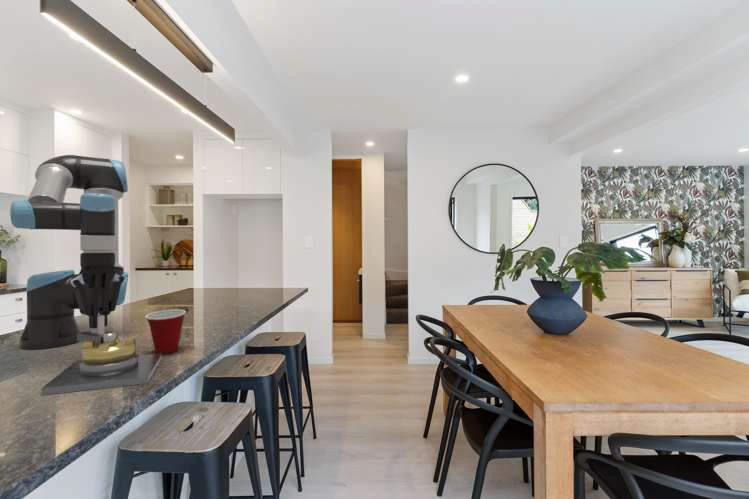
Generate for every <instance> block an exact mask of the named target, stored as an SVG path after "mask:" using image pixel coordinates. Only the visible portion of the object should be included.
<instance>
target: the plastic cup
mask: <svg viewBox="0 0 749 499" xmlns="http://www.w3.org/2000/svg"><path fill="white" fill-rule="evenodd" d="M186 314H187V311H186V310H184V309H176V308H175V309H164V310H163V309H162V310H157V311H154V312H151V313H148V314H146V315H145V316H144V317H145V319H146V320H147V322H148V325H149V327H150V328H149V329H150V333H151V338H152V343H153V348H154V351H155V354H160V353H162V355H168V354H173V353H176V352H177V351H178V349H179V345H180V344H179V342H180V340H181V334H182V329H183V328H182V327H183V322H184V317H185V315H186Z"/></svg>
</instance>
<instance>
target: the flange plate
mask: <svg viewBox="0 0 749 499" xmlns="http://www.w3.org/2000/svg"><path fill="white" fill-rule="evenodd" d="M162 359H163V354H162V353H160V354H156V353H152V354H151V353H150V354H141V355H140V354H139V353H137V352H136V355H135V356H134V357H132V358H130V359H127V360H123V361H119V362H114V363H108V364H85V363H83V362H82V359H80V360H76V361H74V362H73V363H72V364H70V365H69V366H68V367H67V368H65V369H64V370H63V371H61V372H60V373H59V374H58V375H56V376H55V377H53V379H51V380H50V381H49V382H47V383H46V384H45V385H43V387H41V388H40V390H41V392H40V395H41V396H46V395H55V394H64V393H74V392H83V391H90V390H92V391H93V390H100V389H107V388H108V389H110V388H117V387H118V388H119V387H128V386H129V387H130V386H136V385H137V386H138V385H145V384H149V382H150V381H149V380H151V379H152V377H153V375H154V374H155V371H156V370H157V368H158V367H159V364H160V363H161V361H162Z"/></svg>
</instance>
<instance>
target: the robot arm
mask: <svg viewBox="0 0 749 499" xmlns="http://www.w3.org/2000/svg"><path fill="white" fill-rule="evenodd" d="M34 174H35V175H34V179H35V183H34V185H33V187H32V190H31V192H30V193H29V195H28V198H27V199H22V200H13V201H12V202H11V204H10V209H9V210H10V211H9V215H10V223H11V225H12V226H13V227H14V228H15V229H21V230H23V229H25V230H31V231H32V230H56V231H57V230H58V231H59V230H61V231H62V230H67V231H69V230H70V231H80V233H79V235H80V236H79V238H80V239H79V240H80V245H79V246H80V251H83V252H81V253H80V254H79V259H80V261H79V264H80V271H79V273H77V274H75V271H74V269H67V270H59V271H57V270H55V271H50V272H43V273H38V274H32V275H31V276H29V277H28V279H27V281H26V289H25V292H26V323H25V326H24V329H23V331H22V332H21V336H20V338H19V341H18V342H19V343H18V344H19V348H20V349H23V350H24V349H25V350H39V349H50V348H57V347H63V346H67V345H72V344H75V343H78V342H79V341H77V333H81V332H82V331H81V330H80V327H79V325H78V322H77V320H76V317H75V310H79V313H80V315H84V316H88V327H89V329H91V333H96V334H102V335H104V334H105V330H106V329H105V327H107V326H108V315H111V313H112V312H115V310H116V307H118V306H121V305H122V304H124V303H125V299H126V292H127V286H128V281H129V280H128V279H129V272H126V271H124V268H125V267H124V266H123V265H121V264H120V263H119V260H120V259H119V200H120V199H122V198H123V197H124V193H128V190H129V187H128V179H127V172H126V168H125V164H124V163H123V162H122V161H121V160H119V159H118V160H116V159H111V158H103V157H102V158H101V157H92V156H83V155H75V154H65V155H60V156H59V155H58V156H55V157H52V158H49V159H46V160H45V161H44V162H42V163H41V164H39V166H38V167H37V168H36V171H35V173H34ZM68 189H77V190H83V193H82V194H81V195H80V203H77V202H76V203H75V202H64V201H65V197H66V194H67V191H68Z"/></svg>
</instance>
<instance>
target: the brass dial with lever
mask: <svg viewBox="0 0 749 499" xmlns="http://www.w3.org/2000/svg"><path fill="white" fill-rule="evenodd" d="M80 332H81V333H77V341H78V342H82V343H83V344H82V346H83V347H82V348H81V360H82V362H83V363H85V364H108V363H114V362H119V361H123V360H127V359H130V358H132V357H134V356H135V355H136V353H137V341H136V337H135V336H133V337H126V338H125V339H121V335H120V334H117V332H114V331H113V332H112V331H111V332H106V333H105V334H104V335H102V334H96V333H92V331H90V332H89V331H80Z"/></svg>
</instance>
